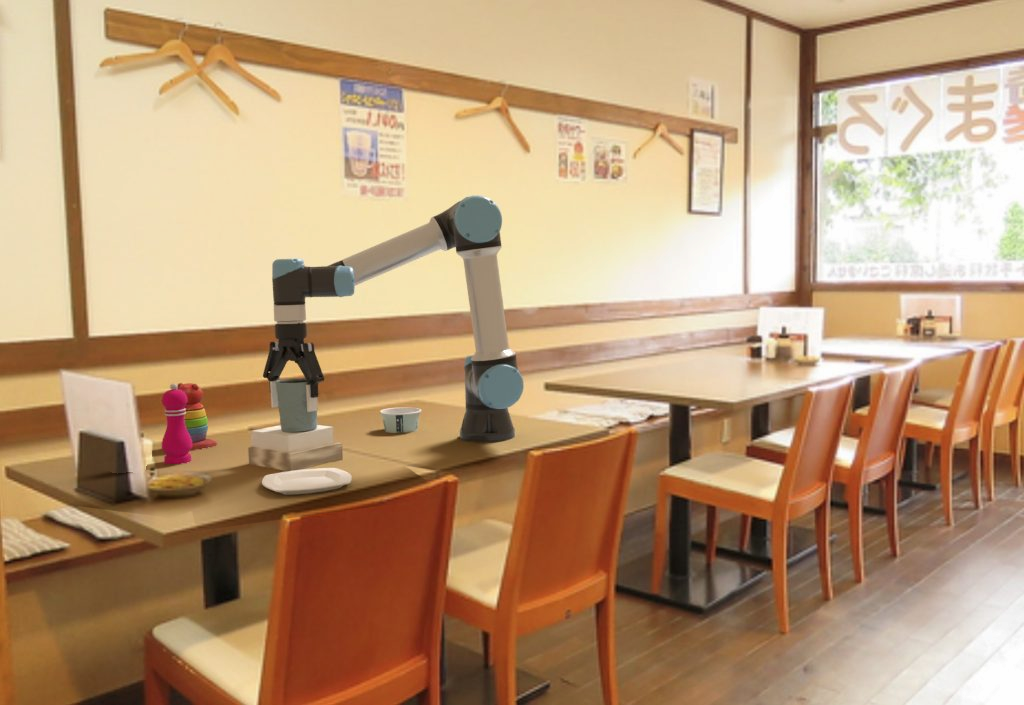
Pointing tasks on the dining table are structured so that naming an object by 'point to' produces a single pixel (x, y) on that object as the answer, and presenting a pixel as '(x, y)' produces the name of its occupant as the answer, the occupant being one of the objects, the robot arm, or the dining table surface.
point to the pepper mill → (176, 427)
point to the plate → (306, 480)
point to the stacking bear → (196, 417)
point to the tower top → (291, 438)
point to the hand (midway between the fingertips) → (294, 409)
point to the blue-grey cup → (294, 406)
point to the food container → (400, 419)
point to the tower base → (295, 457)
